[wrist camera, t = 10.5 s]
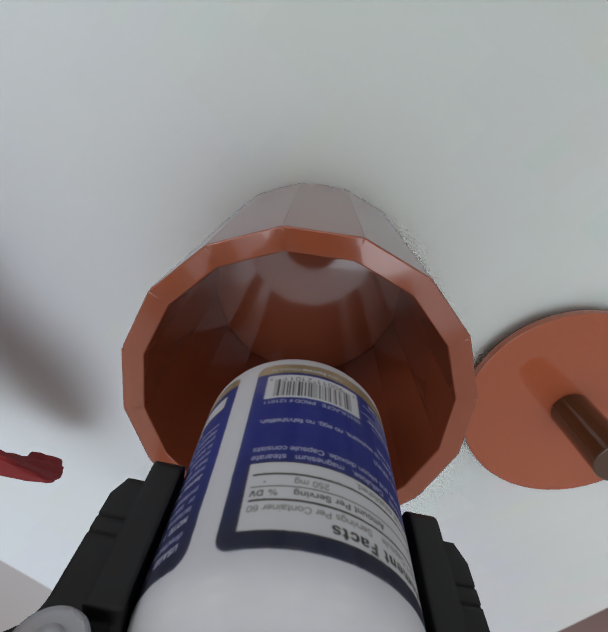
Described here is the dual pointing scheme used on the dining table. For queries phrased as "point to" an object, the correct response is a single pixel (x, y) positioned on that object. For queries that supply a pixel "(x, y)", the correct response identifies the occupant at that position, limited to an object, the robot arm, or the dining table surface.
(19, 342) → the dining table surface
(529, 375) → the lid
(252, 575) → the pill bottle
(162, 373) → the pot
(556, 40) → the dining table surface
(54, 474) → the decorative bird sculpture
